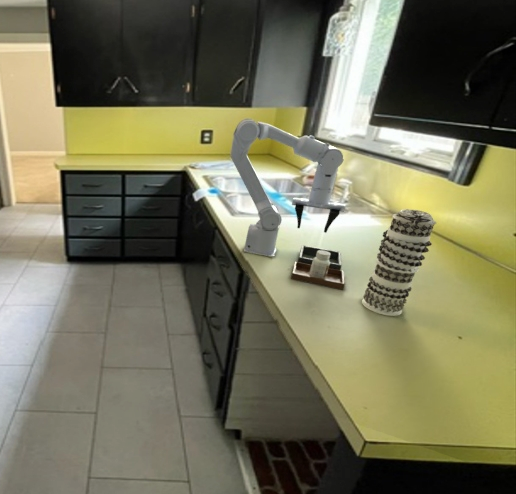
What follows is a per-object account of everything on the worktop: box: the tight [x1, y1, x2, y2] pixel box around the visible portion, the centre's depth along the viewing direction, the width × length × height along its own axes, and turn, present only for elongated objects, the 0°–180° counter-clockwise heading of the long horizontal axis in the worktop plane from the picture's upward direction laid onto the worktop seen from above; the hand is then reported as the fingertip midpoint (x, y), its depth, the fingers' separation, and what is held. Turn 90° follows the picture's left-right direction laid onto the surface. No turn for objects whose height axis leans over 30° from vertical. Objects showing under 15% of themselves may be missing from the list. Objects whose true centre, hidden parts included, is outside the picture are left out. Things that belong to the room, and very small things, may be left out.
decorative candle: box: [361, 208, 437, 317], centre depth 87 cm, size 9×9×25 cm
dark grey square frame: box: [297, 244, 342, 270], centre depth 115 cm, size 11×11×3 cm
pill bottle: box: [309, 250, 331, 279], centre depth 104 cm, size 4×4×8 cm
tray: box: [290, 261, 346, 291], centre depth 106 cm, size 13×9×2 cm
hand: (311, 229), depth 116 cm, fingers open, 7 cm apart
